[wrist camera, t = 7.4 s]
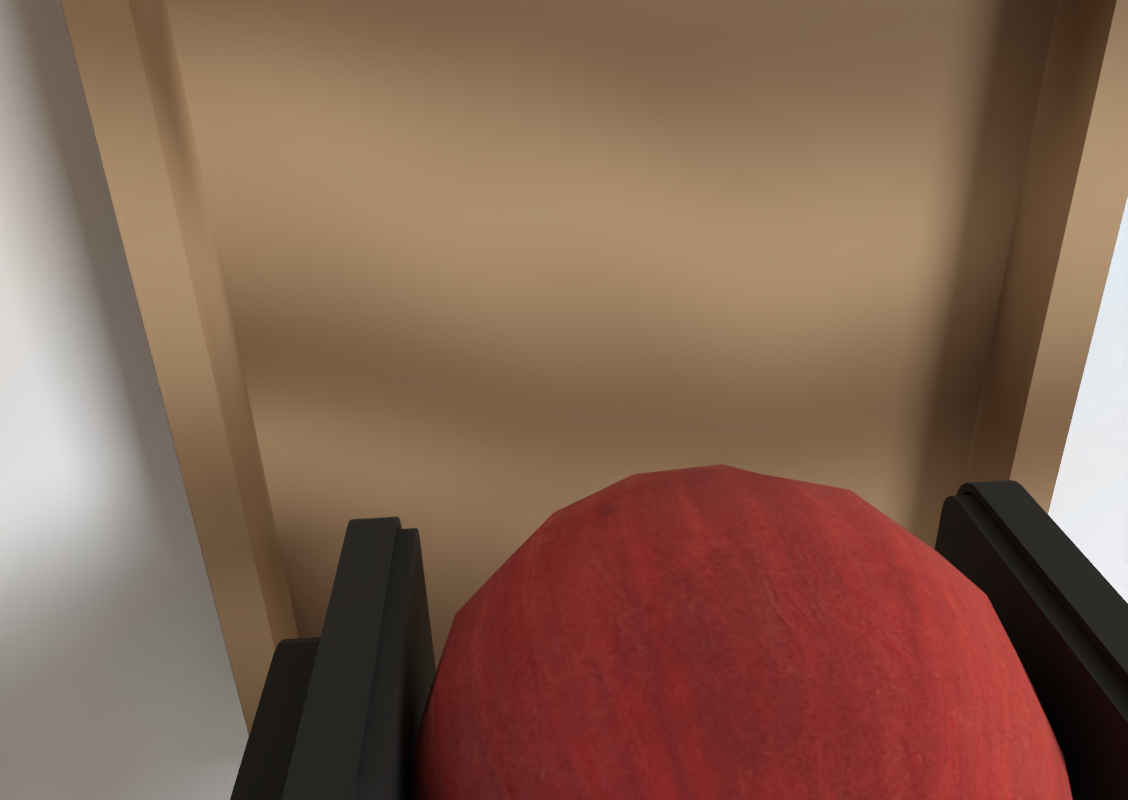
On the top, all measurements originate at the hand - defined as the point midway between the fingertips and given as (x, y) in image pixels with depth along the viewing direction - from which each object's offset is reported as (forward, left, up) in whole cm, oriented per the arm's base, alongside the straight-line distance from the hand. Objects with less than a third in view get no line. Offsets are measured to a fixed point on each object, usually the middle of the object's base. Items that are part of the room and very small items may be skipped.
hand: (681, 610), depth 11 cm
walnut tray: (0, 0, -7) cm, 7 cm away
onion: (0, 0, -2) cm, 2 cm away
